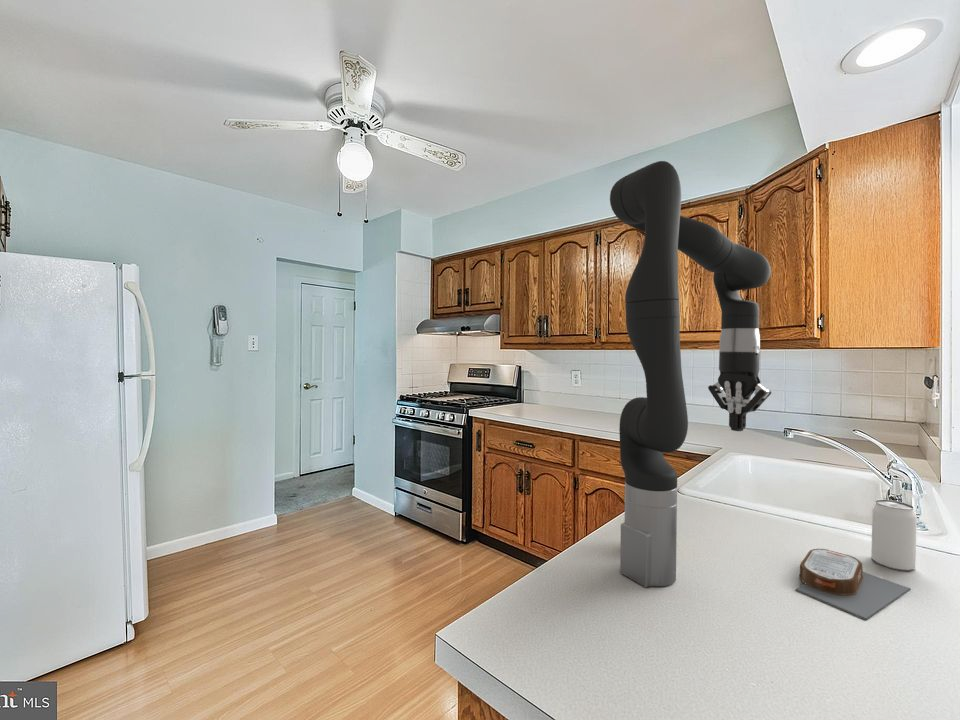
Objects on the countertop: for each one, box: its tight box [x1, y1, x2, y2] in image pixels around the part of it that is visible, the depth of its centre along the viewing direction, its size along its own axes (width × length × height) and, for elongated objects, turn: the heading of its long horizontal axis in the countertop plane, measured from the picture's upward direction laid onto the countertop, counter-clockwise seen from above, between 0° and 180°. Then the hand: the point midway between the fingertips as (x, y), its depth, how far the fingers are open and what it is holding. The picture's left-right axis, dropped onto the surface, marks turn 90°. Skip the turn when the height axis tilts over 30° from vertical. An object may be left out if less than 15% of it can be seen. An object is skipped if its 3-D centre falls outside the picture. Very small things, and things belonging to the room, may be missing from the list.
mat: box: [795, 571, 911, 621], centre depth 79 cm, size 18×10×1 cm, turn 120°
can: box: [870, 498, 918, 572], centre depth 89 cm, size 6×6×12 cm
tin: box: [798, 548, 864, 596], centre depth 83 cm, size 15×3×8 cm
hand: (737, 430), depth 96 cm, fingers closed
